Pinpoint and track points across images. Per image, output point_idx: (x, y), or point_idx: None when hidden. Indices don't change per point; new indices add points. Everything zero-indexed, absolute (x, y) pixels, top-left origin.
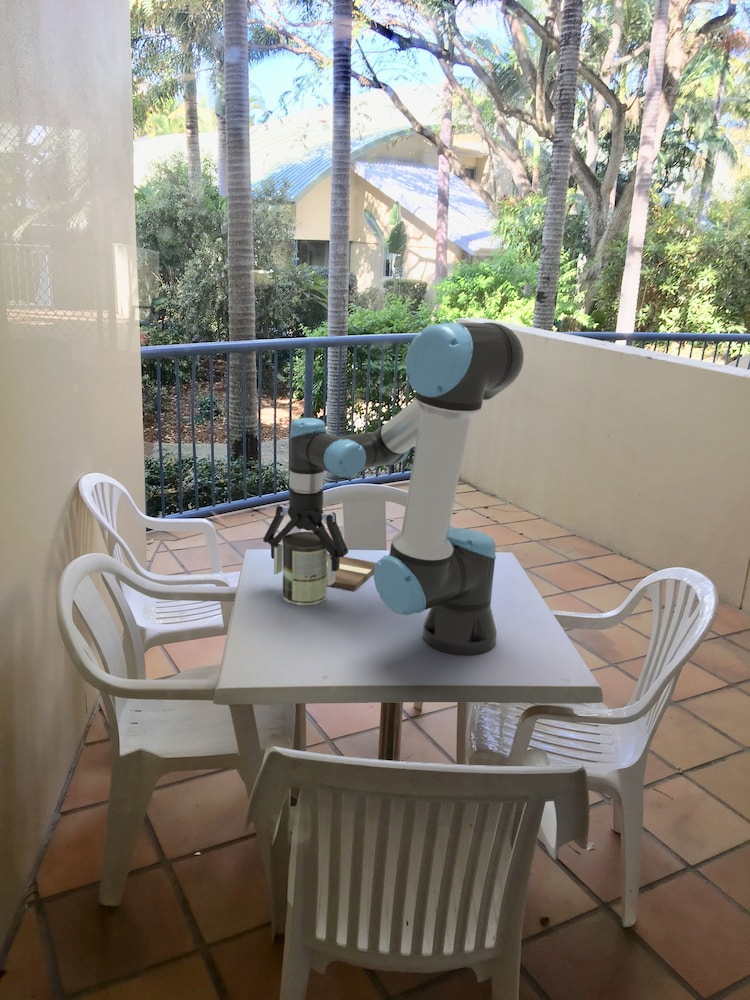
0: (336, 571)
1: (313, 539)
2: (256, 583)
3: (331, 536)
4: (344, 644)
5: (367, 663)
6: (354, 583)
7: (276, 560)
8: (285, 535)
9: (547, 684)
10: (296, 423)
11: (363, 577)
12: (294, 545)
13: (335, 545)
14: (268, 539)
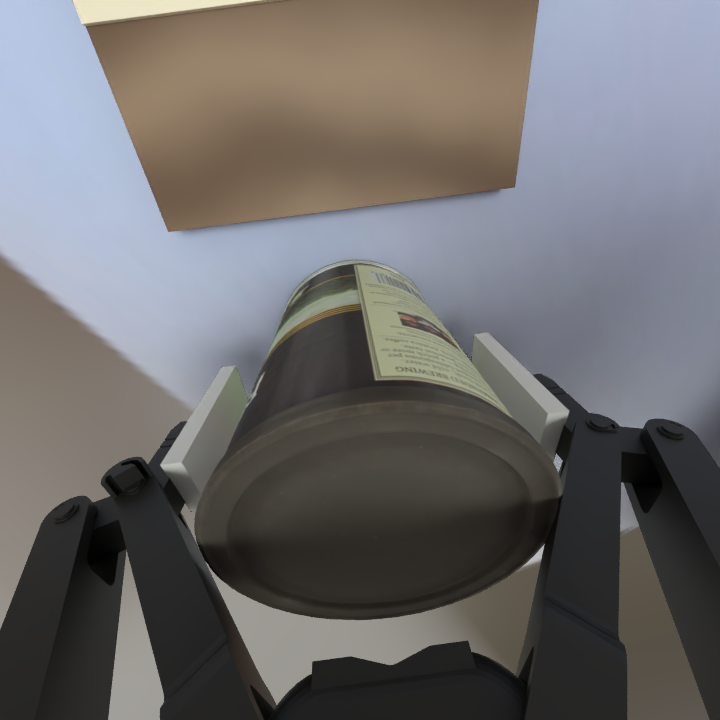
0: (358, 46)
1: (432, 513)
2: (151, 340)
3: (679, 628)
4: (558, 471)
5: None
6: (508, 164)
7: None
8: (193, 553)
9: None
10: None
11: (533, 38)
12: (381, 612)
13: (650, 542)
14: (123, 557)
